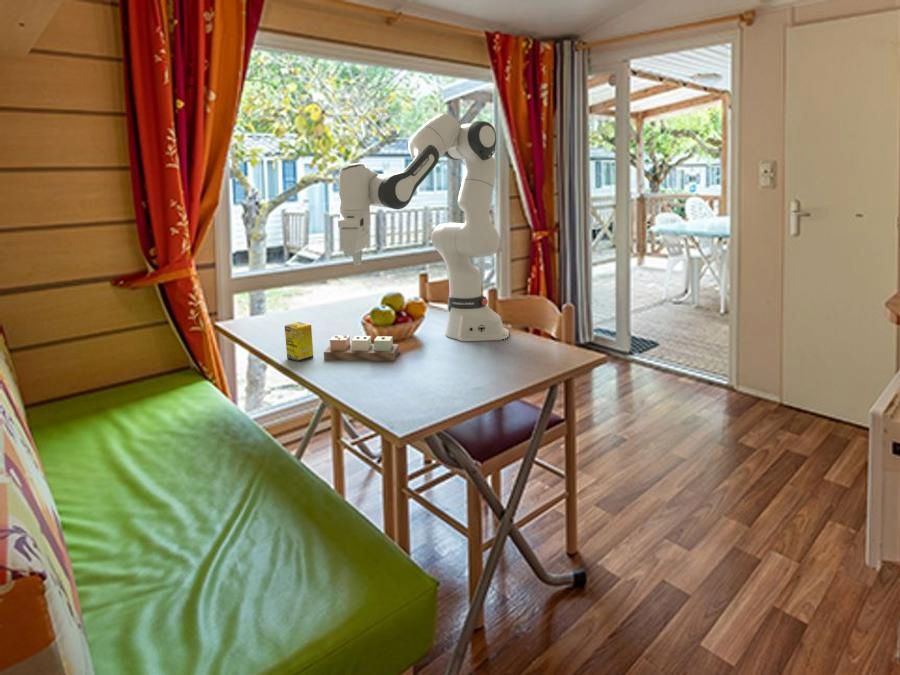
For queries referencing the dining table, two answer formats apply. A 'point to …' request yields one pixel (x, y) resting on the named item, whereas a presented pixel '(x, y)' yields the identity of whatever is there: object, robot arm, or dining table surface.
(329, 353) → the button board
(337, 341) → the three pip tile
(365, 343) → the two pip tile
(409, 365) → the dining table surface
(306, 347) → the supplement box
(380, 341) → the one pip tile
